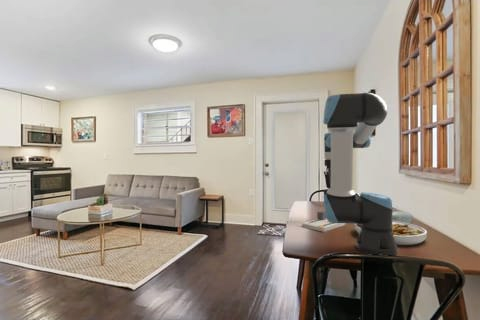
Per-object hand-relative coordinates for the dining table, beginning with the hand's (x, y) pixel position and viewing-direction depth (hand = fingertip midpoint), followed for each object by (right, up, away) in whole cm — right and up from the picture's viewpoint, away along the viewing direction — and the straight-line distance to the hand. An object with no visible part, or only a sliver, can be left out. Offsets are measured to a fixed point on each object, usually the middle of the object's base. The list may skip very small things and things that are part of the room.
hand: (331, 199), depth 150 cm
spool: (+36, -14, -7) cm, 39 cm away
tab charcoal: (-5, -12, +2) cm, 13 cm away
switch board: (-6, -14, -5) cm, 16 cm away
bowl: (+19, -15, -26) cm, 35 cm away
